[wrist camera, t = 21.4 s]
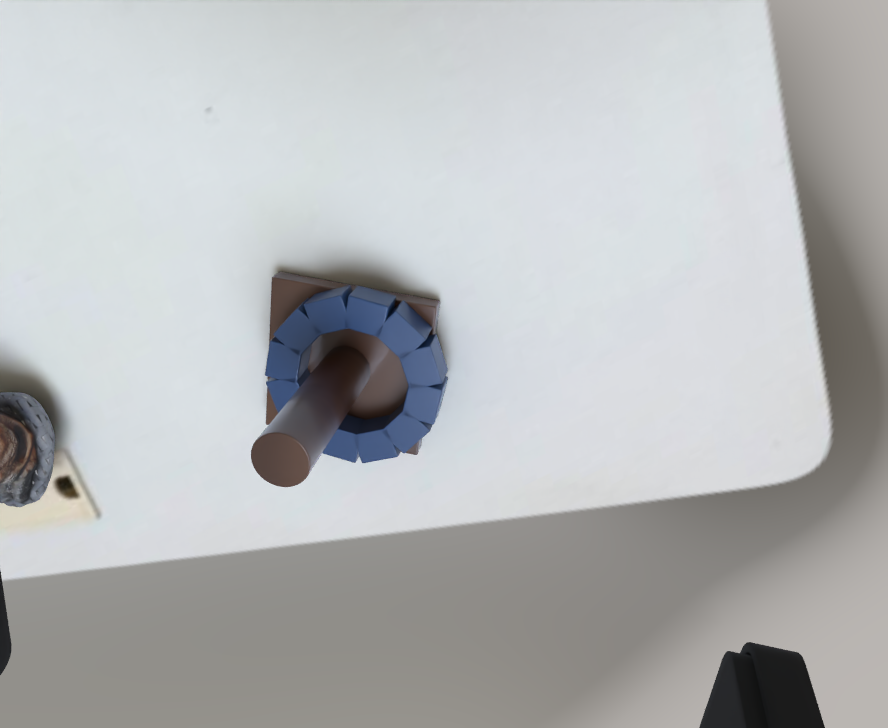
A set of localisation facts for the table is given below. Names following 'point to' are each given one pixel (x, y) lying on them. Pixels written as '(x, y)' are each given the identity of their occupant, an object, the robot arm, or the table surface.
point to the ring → (398, 333)
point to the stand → (329, 384)
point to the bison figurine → (24, 449)
